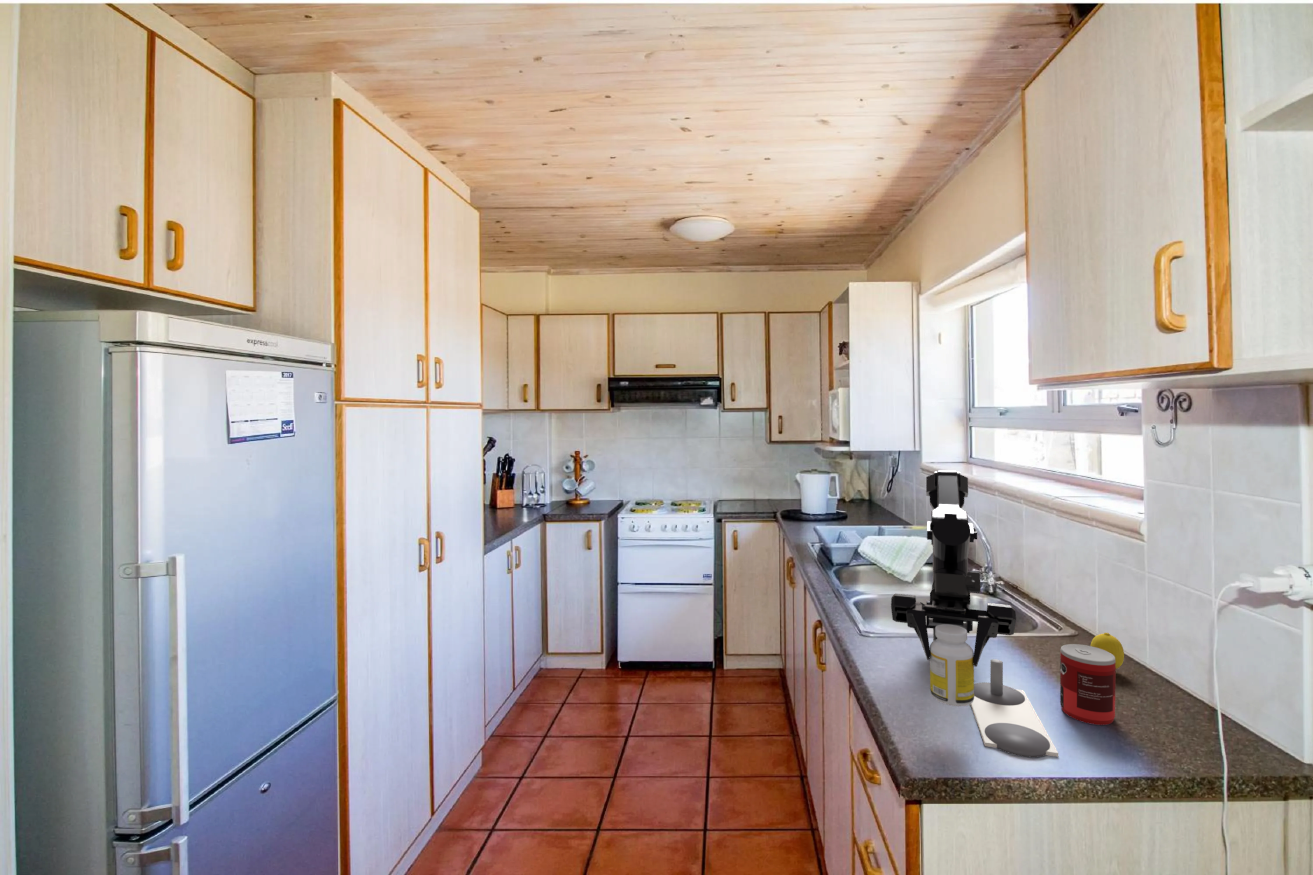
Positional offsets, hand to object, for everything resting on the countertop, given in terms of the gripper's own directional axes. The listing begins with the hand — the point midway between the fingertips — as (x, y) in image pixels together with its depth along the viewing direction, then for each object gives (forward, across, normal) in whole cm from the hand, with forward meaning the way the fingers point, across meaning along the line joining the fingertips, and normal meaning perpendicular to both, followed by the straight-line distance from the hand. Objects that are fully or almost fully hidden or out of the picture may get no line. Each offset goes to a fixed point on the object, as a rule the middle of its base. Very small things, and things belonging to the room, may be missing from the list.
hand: (951, 662), depth 97 cm
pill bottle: (+4, 0, +6) cm, 7 cm away
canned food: (-3, +21, +22) cm, 31 cm away
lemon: (-19, +29, +38) cm, 51 cm away
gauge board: (+1, +9, +17) cm, 19 cm away
